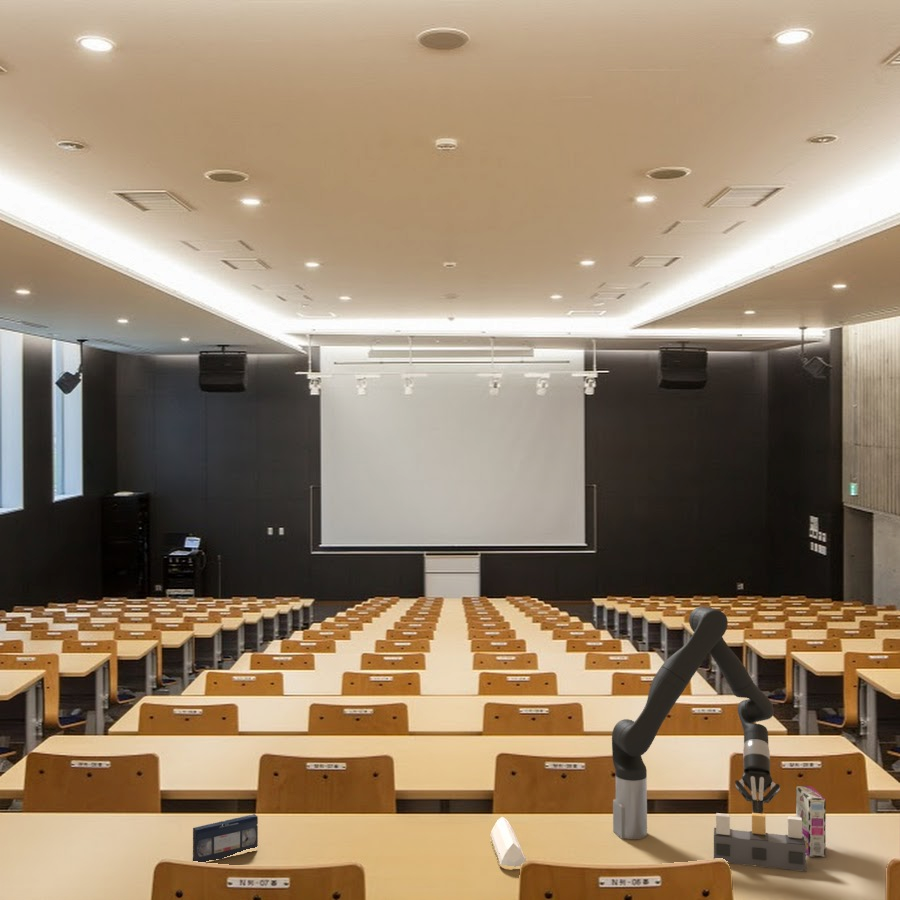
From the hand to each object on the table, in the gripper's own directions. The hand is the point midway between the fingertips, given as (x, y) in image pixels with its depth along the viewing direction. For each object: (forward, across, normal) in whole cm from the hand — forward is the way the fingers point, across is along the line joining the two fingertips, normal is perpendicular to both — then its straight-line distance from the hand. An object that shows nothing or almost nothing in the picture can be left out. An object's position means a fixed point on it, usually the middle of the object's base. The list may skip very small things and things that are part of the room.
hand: (758, 814), depth 268 cm
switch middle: (+6, 0, -2) cm, 6 cm away
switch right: (+6, +10, -2) cm, 11 cm away
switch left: (+8, -10, -4) cm, 13 cm away
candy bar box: (+3, +14, +12) cm, 19 cm away
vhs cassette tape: (+40, -144, -24) cm, 152 cm away
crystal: (+23, -68, -7) cm, 72 cm away
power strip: (+12, 0, +2) cm, 13 cm away
